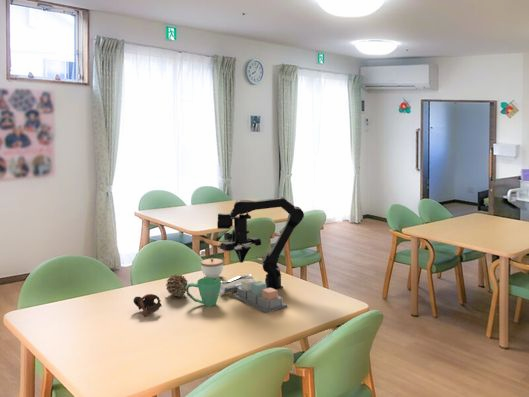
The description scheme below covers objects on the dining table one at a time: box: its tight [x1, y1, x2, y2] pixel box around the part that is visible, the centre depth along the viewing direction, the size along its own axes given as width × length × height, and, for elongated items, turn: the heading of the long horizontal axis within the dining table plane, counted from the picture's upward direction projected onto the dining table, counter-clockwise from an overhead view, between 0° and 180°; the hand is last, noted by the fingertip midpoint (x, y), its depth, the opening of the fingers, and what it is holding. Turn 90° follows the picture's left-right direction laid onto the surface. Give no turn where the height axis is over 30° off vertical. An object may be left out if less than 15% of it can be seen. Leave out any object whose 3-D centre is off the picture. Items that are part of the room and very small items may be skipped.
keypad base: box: [232, 286, 288, 314], centre depth 214 cm, size 11×24×4 cm, turn 36°
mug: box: [185, 277, 222, 307], centre depth 210 cm, size 15×10×10 cm
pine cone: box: [165, 273, 189, 297], centre depth 225 cm, size 22×10×10 cm, turn 23°
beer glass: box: [219, 273, 254, 296], centre depth 226 cm, size 7×7×15 cm
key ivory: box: [241, 279, 257, 291], centre depth 219 cm, size 4×4×5 cm
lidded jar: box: [200, 257, 224, 280], centre depth 248 cm, size 11×11×9 cm
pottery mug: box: [133, 293, 162, 317], centre depth 203 cm, size 12×9×8 cm
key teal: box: [251, 280, 267, 295], centre depth 213 cm, size 4×4×5 cm
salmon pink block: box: [262, 288, 278, 300], centre depth 207 cm, size 4×4×5 cm
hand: (241, 262), depth 230 cm, fingers closed
